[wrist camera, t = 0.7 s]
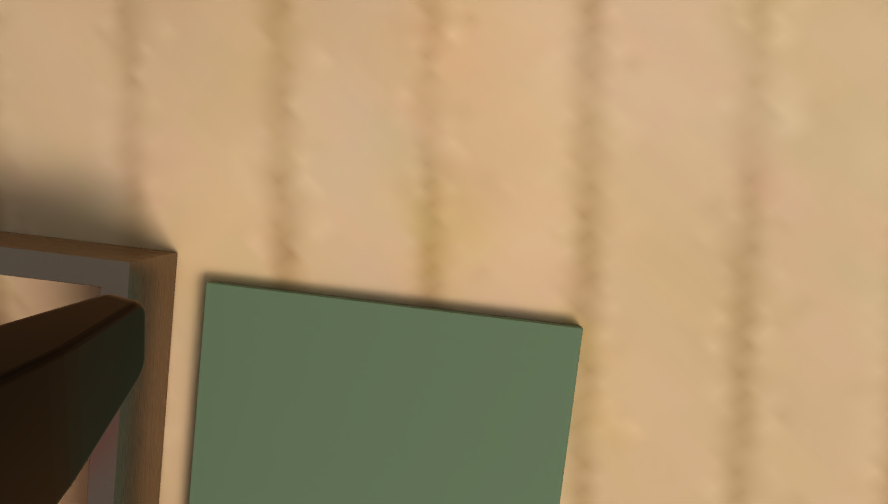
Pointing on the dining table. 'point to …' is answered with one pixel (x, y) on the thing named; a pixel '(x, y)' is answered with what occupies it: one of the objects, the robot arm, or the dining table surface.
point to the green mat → (377, 402)
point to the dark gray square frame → (143, 411)
